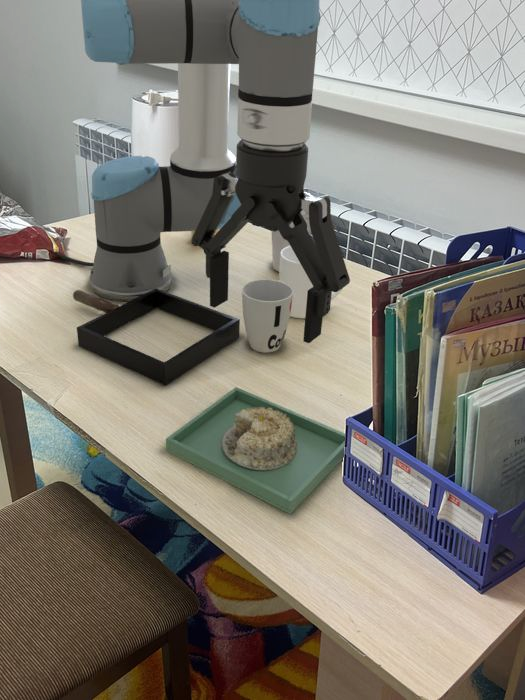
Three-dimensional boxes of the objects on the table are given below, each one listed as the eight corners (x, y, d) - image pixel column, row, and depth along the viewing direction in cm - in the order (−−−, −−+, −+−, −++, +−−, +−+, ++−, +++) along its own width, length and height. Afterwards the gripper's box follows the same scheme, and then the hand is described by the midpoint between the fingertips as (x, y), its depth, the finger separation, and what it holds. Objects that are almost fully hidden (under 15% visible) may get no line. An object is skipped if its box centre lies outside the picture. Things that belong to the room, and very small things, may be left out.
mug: (347, 318, 124) (354, 263, 118) (281, 320, 122) (285, 264, 116) (336, 296, 131) (341, 243, 125) (273, 298, 129) (276, 245, 124)
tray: (166, 450, 90) (165, 438, 89) (235, 398, 101) (236, 386, 100) (290, 514, 81) (291, 501, 80) (352, 449, 92) (353, 437, 91)
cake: (288, 424, 96) (294, 392, 93) (303, 472, 88) (310, 439, 85) (217, 423, 94) (221, 391, 91) (226, 473, 86) (230, 439, 83)
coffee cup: (320, 265, 143) (326, 195, 136) (297, 281, 136) (302, 207, 129) (280, 254, 147) (284, 185, 140) (256, 268, 140) (259, 197, 133)
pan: (34, 326, 117) (31, 307, 115) (113, 289, 130) (112, 272, 128) (165, 386, 103) (164, 366, 101) (239, 337, 116) (240, 319, 114)
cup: (273, 362, 110) (276, 306, 104) (230, 347, 113) (231, 292, 108) (298, 341, 116) (302, 287, 110) (257, 328, 119) (259, 275, 114)
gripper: (158, 126, 75) (164, 300, 86) (362, 174, 63) (339, 368, 75) (202, 115, 80) (202, 280, 92) (397, 157, 69) (370, 340, 80)
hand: (263, 320), depth 83 cm, fingers open, 13 cm apart
